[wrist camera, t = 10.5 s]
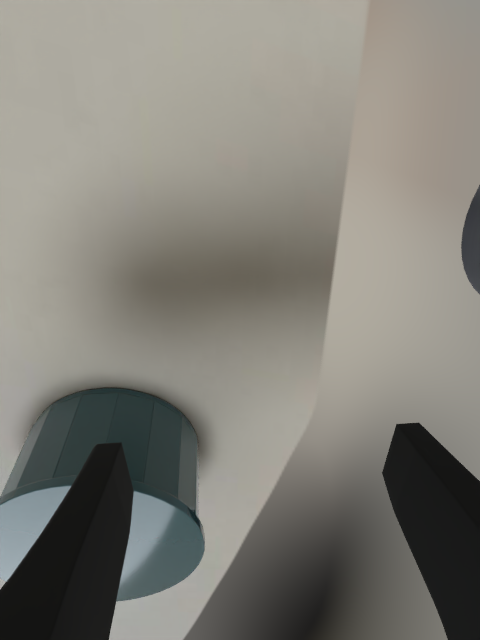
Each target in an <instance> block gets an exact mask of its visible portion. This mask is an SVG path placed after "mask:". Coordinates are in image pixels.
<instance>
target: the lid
mask: <svg viewBox="0 0 480 640" xmlns="http://www.w3.org/2000/svg"><path fill="white" fill-rule="evenodd" d="M77 476H78V475H76V476H64V477H55V478H50V479H45V480H40V481H37V482H33V483H30V484H27V485H24V486H22V487H19V488H17V489H15V490H12V491H11V492H9V493H7V494H5V495H4V496H2V497H1V498H0V578H1V579H2V580H4V581H5V582H7V580H8V579H9V578H10V576H11V575H12V574H13V572H14V571H15V570H16V568H17V567H18V565H19V564H20V562H21V561H22V560H23V558H24V557H25V555H26V554H27V553H28V551H29V550H30V548H31V547H32V546H33V544H34V543H35V541H36V540H37V539H38V537H39V536H40V534H41V533H42V531H43V530H44V528H45V527H46V525H47V524H48V522H49V521H50V519H51V517H52V516H53V514H54V513H55V511H56V510H57V508H58V507H59V505H60V504H61V502H62V500H63V499H64V497H65V496H66V494H67V492H68V491H69V489H70V488H71V486H72V484H73V483H74V481H75V479H76V478H77ZM131 482H132V486H133V490H134V493H133V505H132V516H131V526H130V534H129V539H128V545H127V550H126V555H125V560H124V565H123V570H122V575H121V580H120V585H119V590H118V595H117V599H116V601H124V600H130V599H136V598H140V597H144V596H148V595H152V594H155V593H158V592H161V591H163V590H165V589H168V588H170V587H172V586H174V585H176V584H177V583H179V582H181V581H182V580H184V579H185V578H186V577H188V576H189V575H190V574H191V573H192V572H193V571H194V570H195V569H196V567H197V566H198V565H199V563H200V561H201V559H202V557H203V553H204V545H205V535H204V530H203V526H202V524H201V522H200V520H199V518H198V517H197V516H196V514H195V513H194V512H193V511H192V510H191V509H190V508H189V507H188V506H187V505H186V504H185V503H184V502H182V501H181V500H179V499H178V498H176V497H175V496H173V495H171V494H169V493H167V492H166V491H163V490H161V489H158V488H156V487H154V486H151V485H148V484H144V483H141V482H138V481H133V480H131Z"/></svg>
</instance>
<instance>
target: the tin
mask: <svg viewBox="0 0 480 640" xmlns="http://www.w3.org/2000/svg"><path fill="white" fill-rule="evenodd" d="M119 442H122V446H123V450H124V454H125V458H126V462H127V466H128V470H129V474H130V478H131V480H133V481H138V482H141V483H144V484H148V485H151V486H154V487H156V488H158V489H161V490H163V491H166V492H167V493H169V494H171V495H173V496H175V497H176V498H178V499H179V500H181V501H182V502H184V503H185V504H186V505H187V506H188V507H189V508H190V509H191V510H192V511H193V512H194V513H195V514H196V516H197V517H198V518H199V453H198V439H197V435H196V433H195V430H194V428H193V426H192V425H191V423H190V421H189V420H188V419H187V418H186V417H185V416H184V415H183V414H182V413H181V412H180V411H179V410H178V409H176V408H175V407H173V406H172V405H171V404H169V403H167V402H165V401H163V400H161V399H160V398H157V397H154V396H152V395H149V394H146V393H142V392H139V391H134V390H128V389H119V388H100V389H90V390H86V391H81V392H77V393H74V394H71V395H68V396H66V397H64V398H62V399H60V400H58V401H57V402H55V403H53V404H52V405H50V406H49V407H48V408H47V409H46V410H45V411H44V412H43V413H42V414H41V415H40V417H39V418H38V420H37V422H36V423H35V424H34V425H33V426H32V428H31V430H30V433H29V435H28V437H27V439H26V441H25V444H24V446H23V448H22V450H21V452H20V455H19V457H18V459H17V461H16V463H15V466H14V468H13V470H12V472H11V474H10V477H9V479H8V481H7V483H6V485H5V488H4V490H3V492H2V494H1V496H0V498H1V497H2V496H4V495H5V494H7V493H9V492H11V491H12V490H15V489H17V488H19V487H22V486H24V485H27V484H30V483H33V482H37V481H40V480H45V479H50V478H55V477H64V476H76V475H78V474H79V472H80V471H81V469H82V467H83V466H84V464H85V462H86V460H87V458H88V457H89V455H90V453H91V451H92V449H93V448H94V447H95V446H96V445H97V444H104V443H119Z"/></svg>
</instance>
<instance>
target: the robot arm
mask: <svg viewBox="0 0 480 640" xmlns="http://www.w3.org/2000/svg"><path fill="white" fill-rule="evenodd" d="M382 474H383V477H384V481H385V484H386V487H387V490H388V494H389V497H390V500H391V503H392V506H393V509H394V512H395V514H396V517H397V519H398V522H399V524H400V526H401V528H402V531H403V533H404V536H405V538H406V540H407V542H408V545H409V547H410V549H411V551H412V553H413V556H414V558H415V560H416V563H417V565H418V567H419V569H420V572H421V574H422V576H423V578H424V581H425V583H426V585H427V587H428V590H429V592H430V594H431V597H432V599H433V601H434V604H435V606H436V608H437V611H438V614H439V616H440V618H441V621H442V624H443V627H444V629H445V632H446V635H447V638H448V640H480V481H479V480H478V479H477V478H475V476H473V475H472V474H471V473H470V472H469V471H468V470H467V469H466V468H465V467H464V466H463V465H462V464H461V463H460V462H459V461H458V460H457V459H456V458H454V456H453V455H451V453H449V452H448V451H447V450H446V449H445V448H444V447H443V446H442V445H441V444H440V443H439V442H438V441H437V440H436V439H435V438H434V437H433V436H432V435H431V434H430V433H429V432H428V431H427V430H426V429H425V428H424V427H423V426H422V425H421V424H420V423H407V424H397V425H396V428H395V431H394V435H393V438H392V441H391V445H390V448H389V452H388V455H387V458H386V462H385V465H384V469H383V472H382ZM133 493H134V490H133V486H132V482H131V478H130V474H129V470H128V466H127V462H126V458H125V454H124V450H123V446H122V442H119V443H104V444H97V445H96V446H95V447H94V448H93V449H92V451H91V453H90V455H89V457H88V458H87V460H86V462H85V464H84V466H83V467H82V469H81V471H80V472H79V474H78V476H77V478H76V479H75V481H74V483H73V484H72V486H71V488H70V489H69V491H68V492H67V494H66V496H65V497H64V499H63V500H62V502H61V504H60V505H59V507H58V508H57V510H56V511H55V513H54V514H53V516H52V517H51V519H50V521H49V522H48V524H47V525H46V527H45V528H44V530H43V531H42V533H41V534H40V536H39V537H38V539H37V540H36V541H35V543H34V544H33V546H32V547H31V548H30V550H29V551H28V553H27V554H26V555H25V557H24V558H23V560H22V561H21V562H20V564H19V565H18V567H17V568H16V570H15V571H14V572H13V574H12V575H11V576H10V578H9V579H8V580H7V582H6V583H5V584H4V586H3V587H2V588H1V590H0V640H109V635H110V629H111V624H112V619H113V614H114V609H115V604H116V599H117V595H118V590H119V585H120V580H121V575H122V570H123V565H124V560H125V555H126V550H127V545H128V539H129V534H130V526H131V516H132V505H133Z"/></svg>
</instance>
